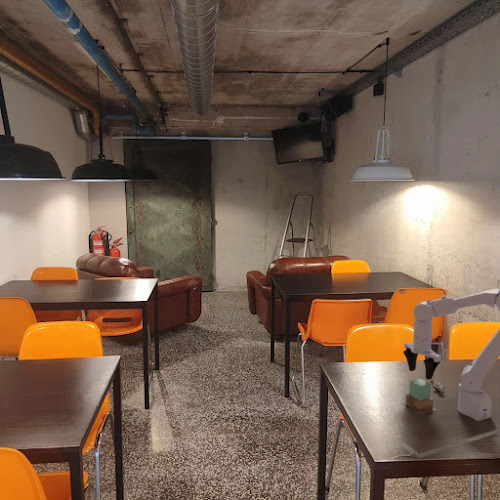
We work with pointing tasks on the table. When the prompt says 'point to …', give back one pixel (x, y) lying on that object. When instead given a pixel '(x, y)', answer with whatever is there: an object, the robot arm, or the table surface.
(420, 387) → the teal block
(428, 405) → the walnut base block
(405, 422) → the table surface
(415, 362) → the robot arm
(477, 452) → the table surface
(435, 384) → the soldier figure
